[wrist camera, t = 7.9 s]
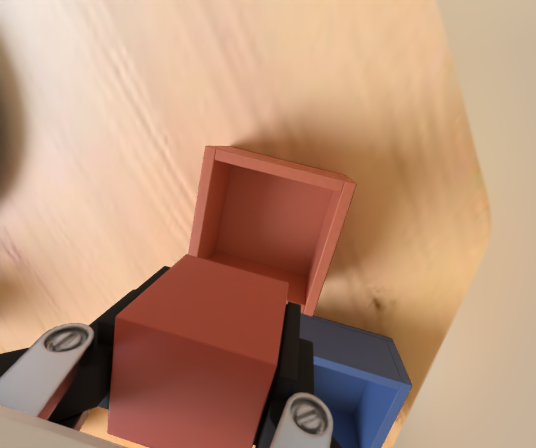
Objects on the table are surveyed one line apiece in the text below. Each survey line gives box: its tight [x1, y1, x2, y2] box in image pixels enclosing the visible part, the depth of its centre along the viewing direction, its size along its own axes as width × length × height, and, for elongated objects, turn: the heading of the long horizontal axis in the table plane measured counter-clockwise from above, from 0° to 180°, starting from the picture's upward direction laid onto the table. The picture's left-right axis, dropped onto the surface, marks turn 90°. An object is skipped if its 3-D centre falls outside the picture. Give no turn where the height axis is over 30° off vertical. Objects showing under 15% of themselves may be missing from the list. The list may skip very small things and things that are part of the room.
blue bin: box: [299, 313, 412, 448], centre depth 26 cm, size 11×11×6 cm
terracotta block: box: [107, 254, 289, 448], centre depth 10 cm, size 4×4×4 cm
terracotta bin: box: [188, 146, 356, 316], centre depth 23 cm, size 11×11×6 cm
